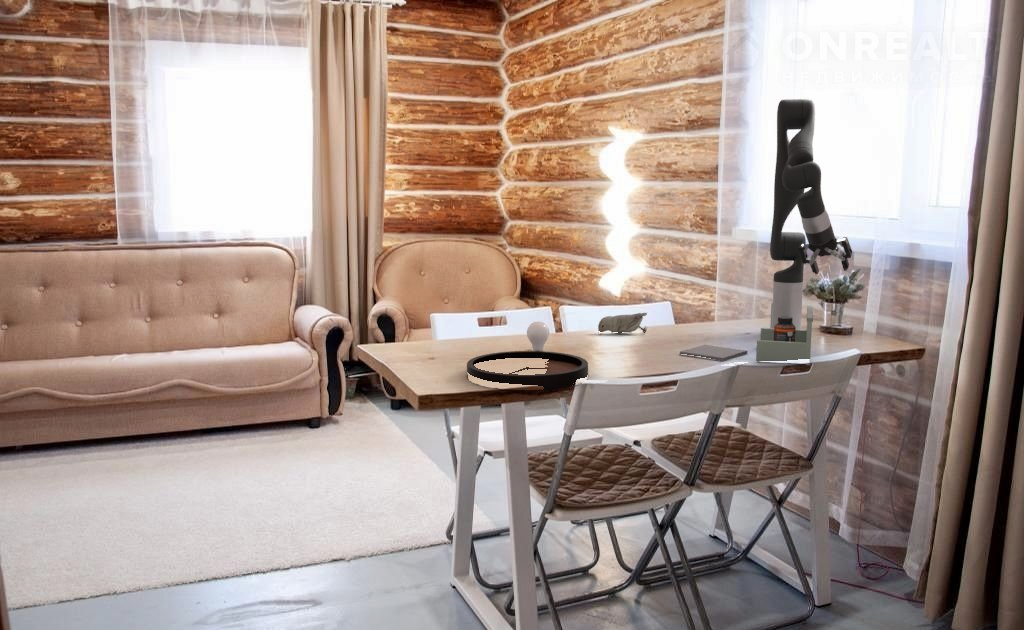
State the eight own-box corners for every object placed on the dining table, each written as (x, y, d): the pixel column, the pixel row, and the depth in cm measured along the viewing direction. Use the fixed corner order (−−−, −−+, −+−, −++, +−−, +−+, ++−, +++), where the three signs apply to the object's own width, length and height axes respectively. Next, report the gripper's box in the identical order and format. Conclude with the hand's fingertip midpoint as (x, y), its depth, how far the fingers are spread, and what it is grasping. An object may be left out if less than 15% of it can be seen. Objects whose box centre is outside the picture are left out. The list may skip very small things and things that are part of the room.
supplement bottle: (795, 358, 243) (797, 319, 241) (773, 357, 244) (775, 318, 242) (793, 354, 249) (794, 315, 247) (771, 353, 250) (773, 315, 248)
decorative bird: (597, 333, 287) (598, 311, 285) (646, 333, 286) (646, 311, 285) (598, 336, 281) (599, 313, 280) (648, 336, 281) (648, 313, 280)
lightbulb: (544, 356, 247) (543, 319, 245) (552, 361, 241) (552, 322, 239) (523, 358, 245) (523, 320, 243) (532, 363, 239) (531, 324, 237)
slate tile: (679, 354, 249) (679, 351, 249) (704, 347, 259) (704, 344, 259) (723, 361, 239) (723, 357, 239) (747, 353, 249) (747, 350, 249)
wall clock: (550, 346, 243) (611, 367, 215) (550, 360, 243) (611, 383, 216) (447, 357, 229) (499, 381, 201) (448, 372, 229) (499, 398, 202)
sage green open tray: (756, 362, 238) (757, 315, 236) (760, 347, 259) (762, 304, 257) (810, 365, 234) (813, 318, 232) (810, 350, 254) (812, 306, 252)
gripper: (844, 215, 249) (858, 261, 256) (795, 222, 258) (810, 267, 265) (839, 228, 244) (853, 275, 251) (790, 235, 253) (805, 280, 260)
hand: (831, 271), depth 258 cm, fingers open, 8 cm apart
